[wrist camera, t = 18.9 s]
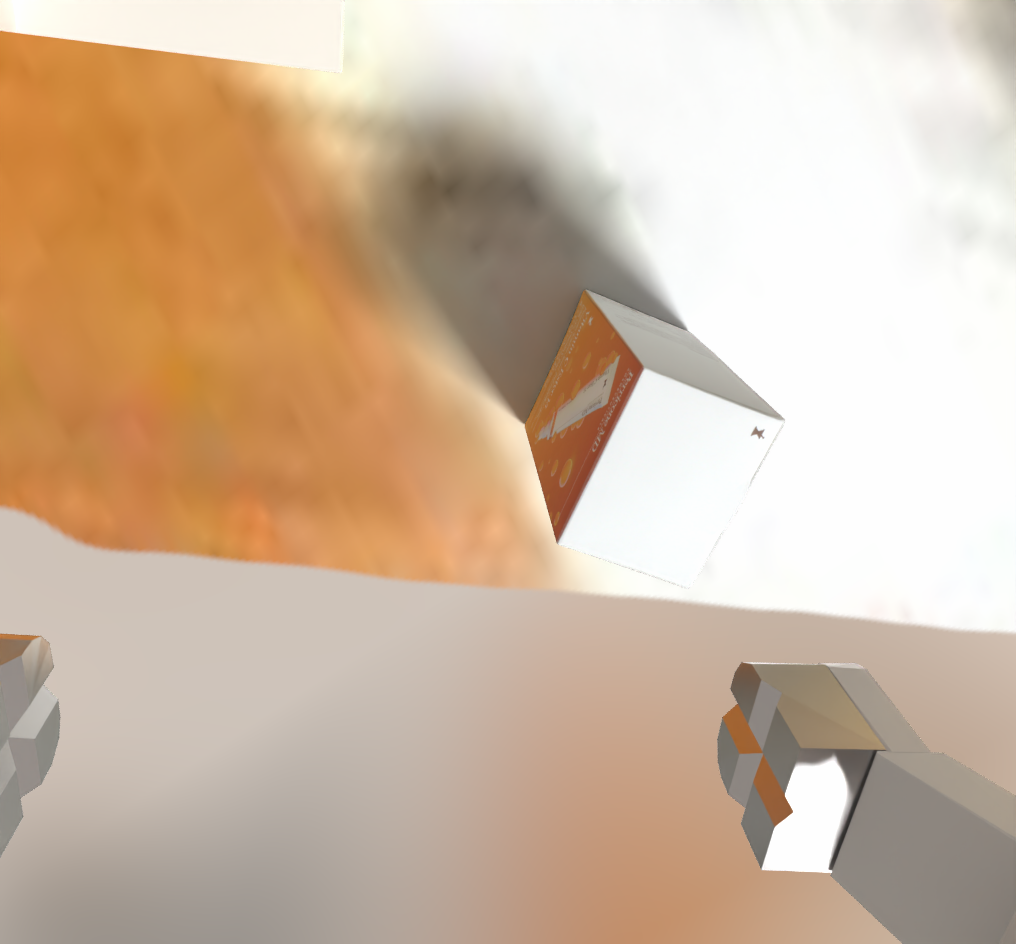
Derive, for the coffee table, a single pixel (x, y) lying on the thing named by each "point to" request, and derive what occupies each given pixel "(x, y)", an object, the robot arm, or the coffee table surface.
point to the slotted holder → (195, 27)
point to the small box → (644, 441)
